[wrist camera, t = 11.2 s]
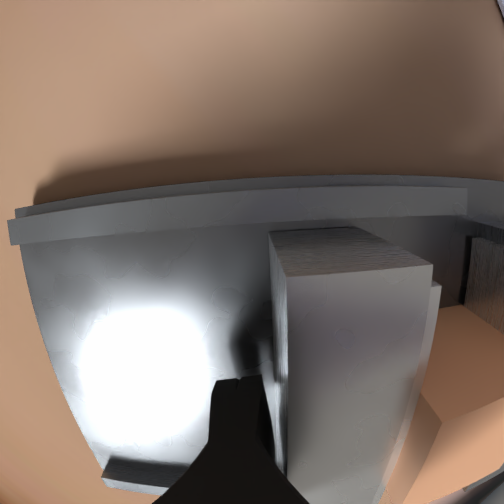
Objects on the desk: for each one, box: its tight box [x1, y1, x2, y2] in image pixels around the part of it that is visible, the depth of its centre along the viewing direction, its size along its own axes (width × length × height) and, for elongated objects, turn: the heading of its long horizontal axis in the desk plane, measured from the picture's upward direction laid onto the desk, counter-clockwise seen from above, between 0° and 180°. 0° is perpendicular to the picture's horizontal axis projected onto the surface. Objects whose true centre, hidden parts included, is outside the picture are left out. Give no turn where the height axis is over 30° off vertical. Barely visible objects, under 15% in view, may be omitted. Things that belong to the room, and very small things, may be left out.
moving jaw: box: [268, 227, 442, 504], centre depth 8 cm, size 3×10×4 cm, turn 4°
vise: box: [7, 175, 504, 495], centre depth 8 cm, size 18×13×5 cm
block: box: [386, 305, 504, 504], centre depth 7 cm, size 4×4×5 cm
